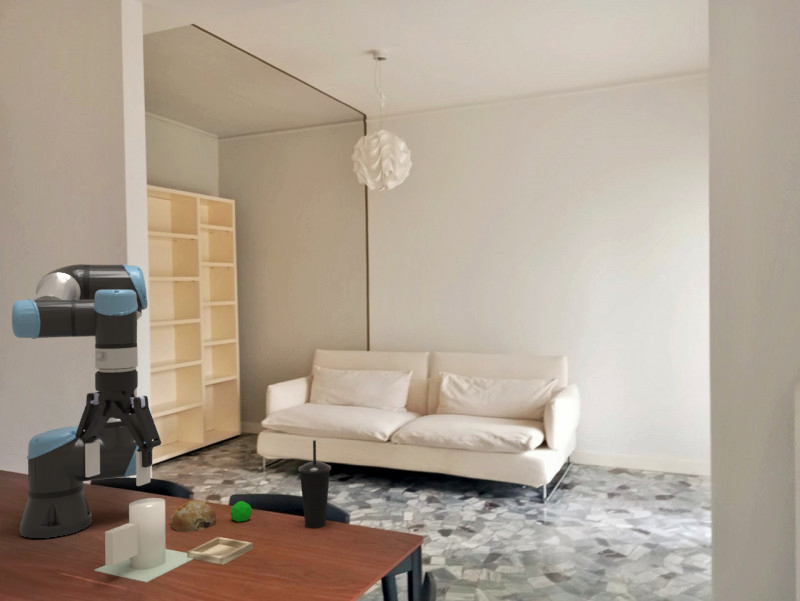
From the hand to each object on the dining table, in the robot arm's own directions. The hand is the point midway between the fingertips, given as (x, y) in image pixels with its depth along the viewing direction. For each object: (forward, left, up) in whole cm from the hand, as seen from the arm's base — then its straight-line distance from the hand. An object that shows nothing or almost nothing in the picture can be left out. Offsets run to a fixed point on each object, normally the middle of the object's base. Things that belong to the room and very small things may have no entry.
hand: (117, 479), depth 124 cm
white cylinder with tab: (0, +4, -18) cm, 19 cm away
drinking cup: (+18, +41, -19) cm, 49 cm away
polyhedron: (0, +36, -19) cm, 41 cm away
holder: (+10, +17, -19) cm, 27 cm away
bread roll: (-8, +29, -19) cm, 36 cm away
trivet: (0, +7, -19) cm, 20 cm away
